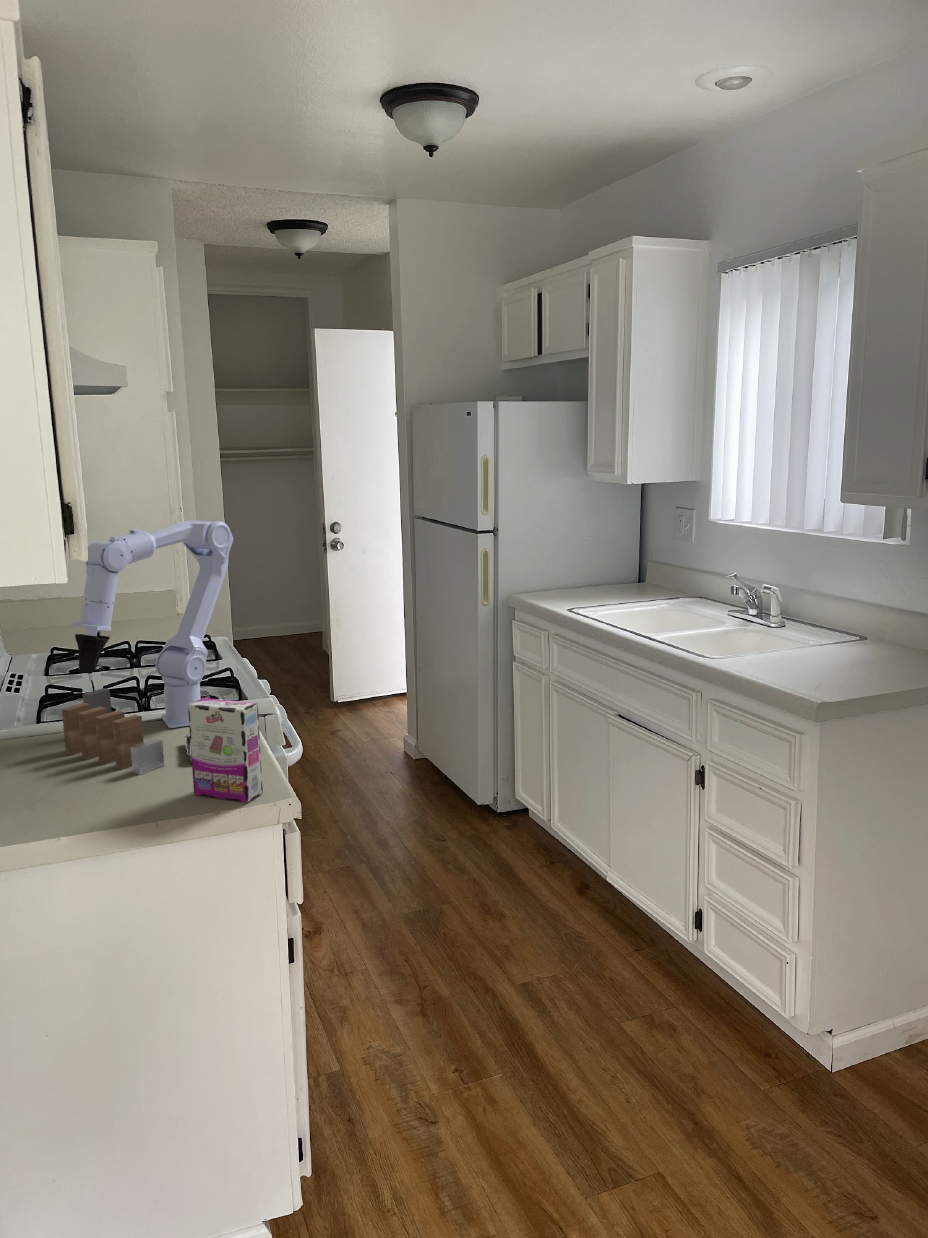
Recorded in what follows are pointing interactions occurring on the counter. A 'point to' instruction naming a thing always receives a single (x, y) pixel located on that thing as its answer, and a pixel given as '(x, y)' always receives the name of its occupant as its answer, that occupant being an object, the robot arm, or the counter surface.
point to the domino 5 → (126, 739)
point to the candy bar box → (225, 749)
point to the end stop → (147, 756)
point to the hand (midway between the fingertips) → (87, 672)
